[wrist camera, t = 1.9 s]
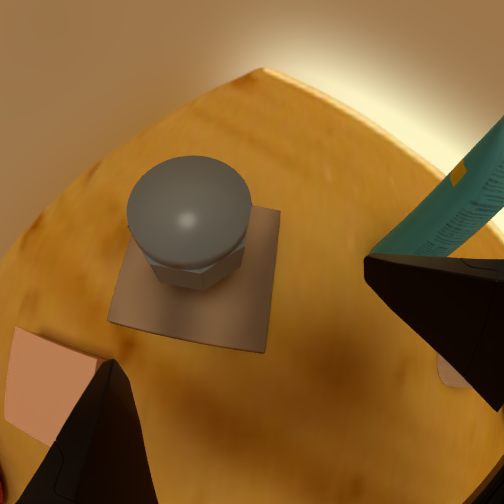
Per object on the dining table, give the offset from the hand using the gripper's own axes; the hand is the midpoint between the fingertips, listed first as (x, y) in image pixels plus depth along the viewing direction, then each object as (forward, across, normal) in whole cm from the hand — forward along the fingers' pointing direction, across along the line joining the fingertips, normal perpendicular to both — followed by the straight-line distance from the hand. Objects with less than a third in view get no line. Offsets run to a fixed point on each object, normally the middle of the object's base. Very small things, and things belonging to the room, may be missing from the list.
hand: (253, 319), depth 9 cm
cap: (+11, 0, 0) cm, 11 cm away
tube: (+10, -16, +9) cm, 21 cm away
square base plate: (+14, 0, +4) cm, 15 cm away
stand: (+10, +14, +8) cm, 19 cm away
